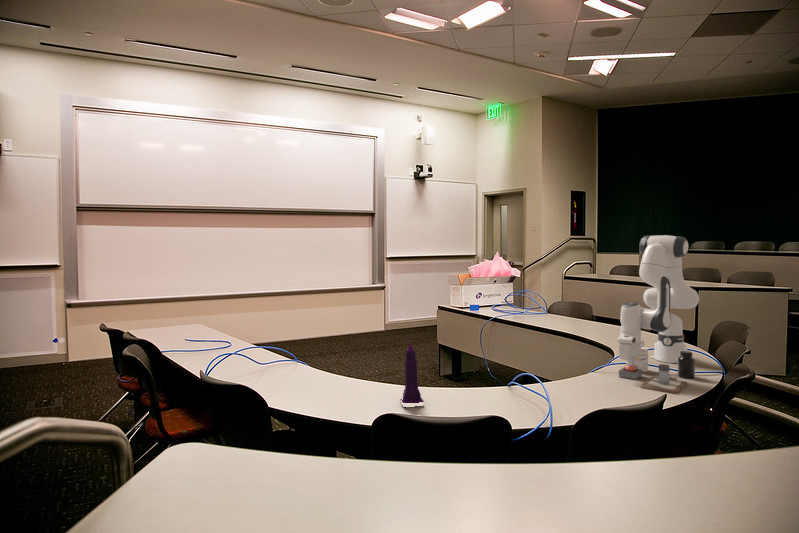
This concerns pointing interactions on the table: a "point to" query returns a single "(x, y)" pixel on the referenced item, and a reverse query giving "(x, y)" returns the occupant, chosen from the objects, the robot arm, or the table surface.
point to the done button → (630, 368)
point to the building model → (411, 378)
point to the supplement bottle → (686, 365)
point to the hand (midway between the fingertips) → (630, 365)
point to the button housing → (630, 374)
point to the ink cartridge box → (642, 359)
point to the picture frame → (664, 385)
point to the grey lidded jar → (663, 374)
